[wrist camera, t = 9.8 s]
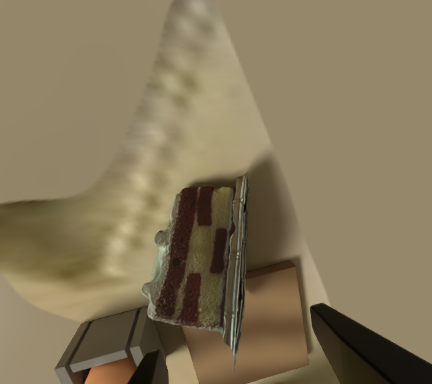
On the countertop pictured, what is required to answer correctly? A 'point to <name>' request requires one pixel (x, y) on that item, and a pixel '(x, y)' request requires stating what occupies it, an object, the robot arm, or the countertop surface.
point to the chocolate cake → (203, 262)
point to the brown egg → (112, 372)
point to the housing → (108, 344)
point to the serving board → (256, 332)
